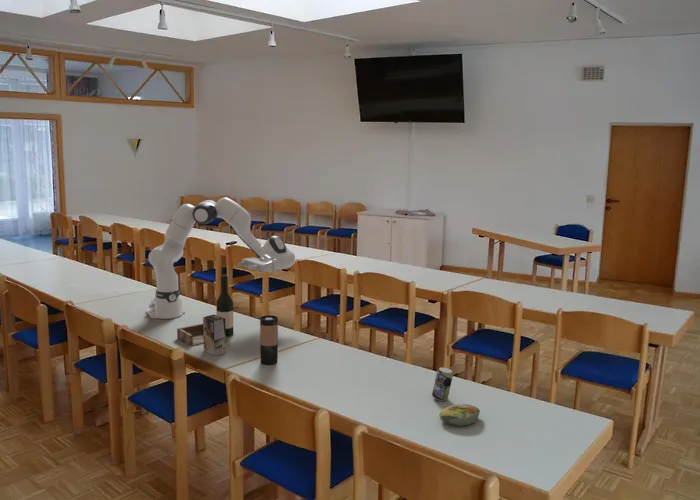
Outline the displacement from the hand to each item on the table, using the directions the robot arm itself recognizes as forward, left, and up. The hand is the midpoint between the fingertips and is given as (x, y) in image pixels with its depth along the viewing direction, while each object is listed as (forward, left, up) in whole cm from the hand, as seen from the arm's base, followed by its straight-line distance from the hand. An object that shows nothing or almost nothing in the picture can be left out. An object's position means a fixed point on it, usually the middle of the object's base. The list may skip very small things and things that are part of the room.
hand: (243, 266), depth 306 cm
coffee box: (+21, -28, -33) cm, 48 cm away
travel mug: (+47, -16, -33) cm, 59 cm away
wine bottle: (+2, -12, -33) cm, 35 cm away
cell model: (+135, +5, -33) cm, 139 cm away
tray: (+1, -26, -32) cm, 41 cm away
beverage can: (+119, +14, -33) cm, 124 cm away
